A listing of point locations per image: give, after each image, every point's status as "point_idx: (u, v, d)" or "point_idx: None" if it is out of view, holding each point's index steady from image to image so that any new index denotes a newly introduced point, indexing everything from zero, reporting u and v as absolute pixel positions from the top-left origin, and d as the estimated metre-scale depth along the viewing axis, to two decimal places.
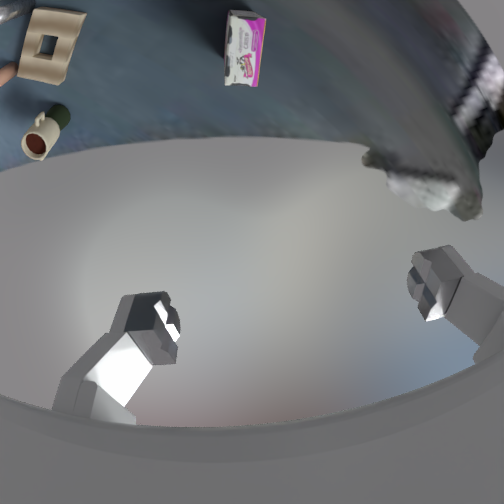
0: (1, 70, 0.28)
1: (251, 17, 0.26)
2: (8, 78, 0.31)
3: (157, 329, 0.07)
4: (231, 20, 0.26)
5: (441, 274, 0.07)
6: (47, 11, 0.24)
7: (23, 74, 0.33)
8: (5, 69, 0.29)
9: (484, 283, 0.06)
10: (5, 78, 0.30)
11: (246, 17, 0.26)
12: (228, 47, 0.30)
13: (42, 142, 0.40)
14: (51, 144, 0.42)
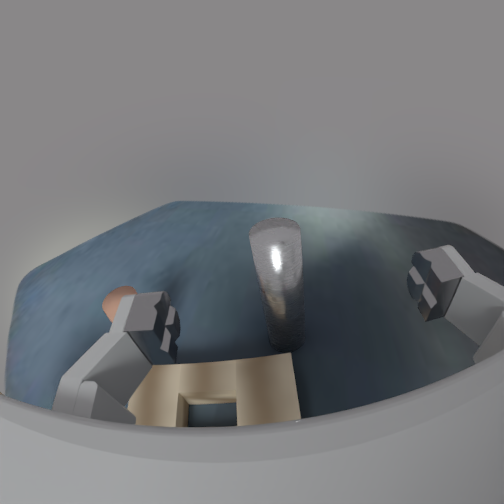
0: None
1: None
2: None
3: (157, 329, 0.07)
4: None
5: (441, 274, 0.07)
6: (293, 388, 0.22)
7: None
8: None
9: (484, 283, 0.06)
10: None
11: None
12: None
13: None
14: None
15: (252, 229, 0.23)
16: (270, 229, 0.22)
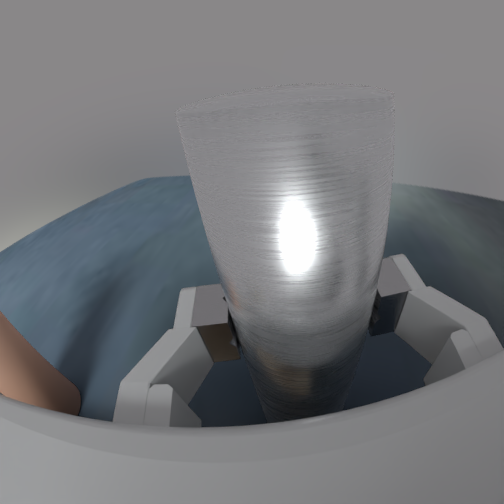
0: (26, 369, 0.10)
1: None
2: None
3: (229, 322, 0.07)
4: None
5: (383, 288, 0.07)
6: None
7: None
8: (34, 386, 0.10)
9: (435, 298, 0.06)
10: (2, 391, 0.09)
11: None
12: None
13: None
14: None
15: (196, 102, 0.05)
16: (267, 91, 0.05)
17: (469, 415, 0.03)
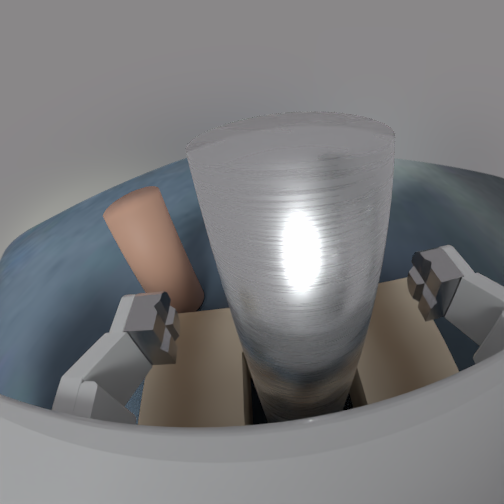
0: (179, 239, 0.19)
1: None
2: (159, 281, 0.18)
3: (157, 329, 0.07)
4: None
5: (441, 274, 0.07)
6: (430, 323, 0.13)
7: None
8: (184, 254, 0.19)
9: (484, 283, 0.06)
10: (159, 262, 0.17)
11: None
12: None
13: None
14: None
15: (204, 134, 0.06)
16: (273, 127, 0.05)
17: (469, 415, 0.03)
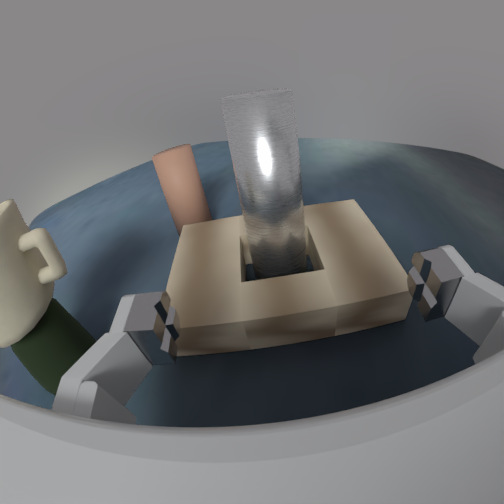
0: None
1: None
2: (188, 202, 0.27)
3: (157, 329, 0.07)
4: None
5: (441, 274, 0.07)
6: (367, 220, 0.22)
7: (188, 234, 0.24)
8: (202, 188, 0.28)
9: (484, 283, 0.06)
10: (190, 187, 0.26)
11: None
12: None
13: None
14: None
15: (225, 97, 0.14)
16: (250, 93, 0.14)
17: (469, 415, 0.03)
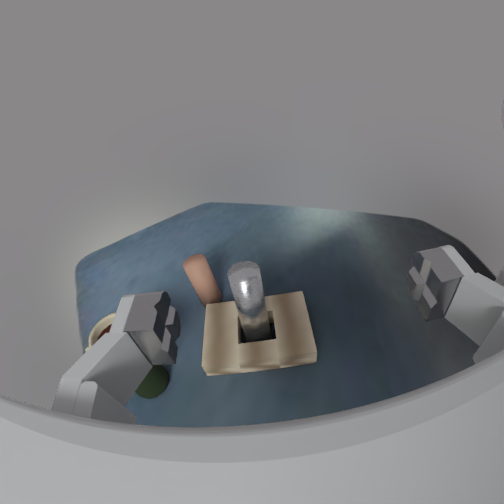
0: None
1: None
2: (210, 289, 0.48)
3: (157, 329, 0.07)
4: None
5: (441, 274, 0.07)
6: (305, 308, 0.42)
7: (210, 311, 0.45)
8: (213, 277, 0.49)
9: (484, 283, 0.06)
10: (210, 281, 0.47)
11: None
12: None
13: None
14: None
15: (229, 269, 0.35)
16: (241, 270, 0.35)
17: (469, 415, 0.03)
